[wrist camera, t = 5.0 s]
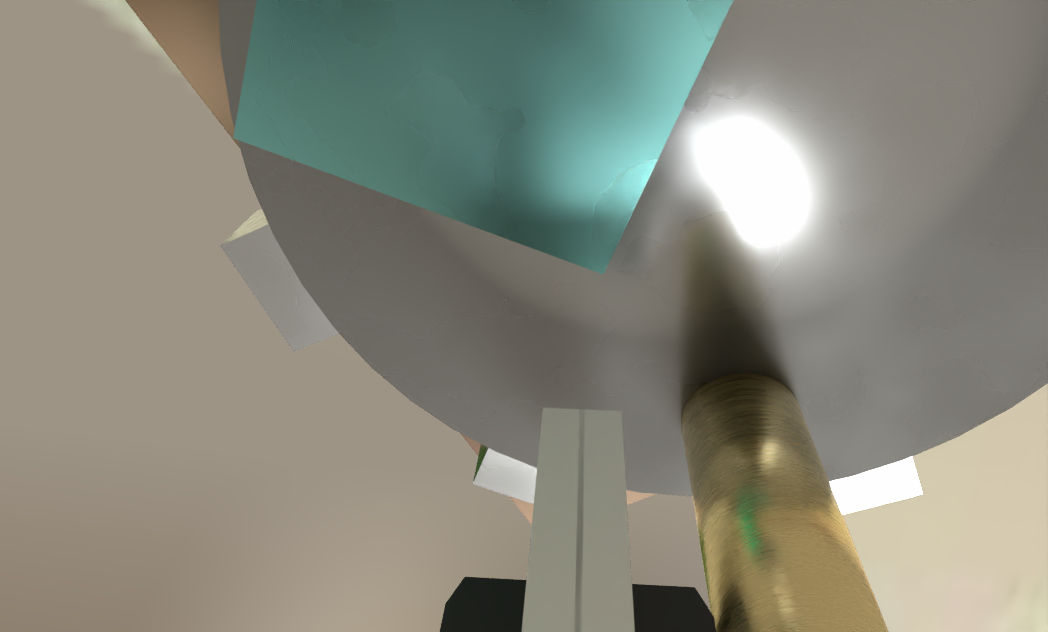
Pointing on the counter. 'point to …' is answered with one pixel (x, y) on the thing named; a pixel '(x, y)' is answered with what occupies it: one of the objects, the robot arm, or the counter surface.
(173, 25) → the base board
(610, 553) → the robot arm
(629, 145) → the turntable
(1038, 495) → the counter surface
